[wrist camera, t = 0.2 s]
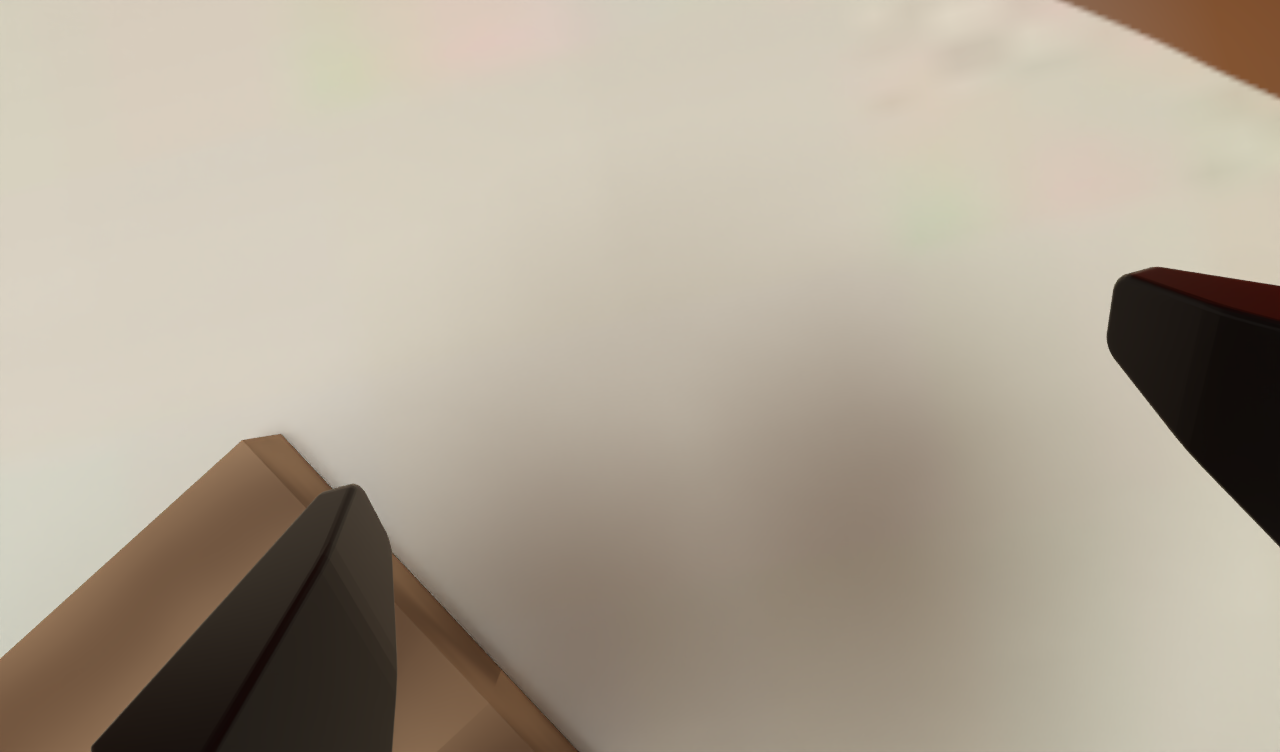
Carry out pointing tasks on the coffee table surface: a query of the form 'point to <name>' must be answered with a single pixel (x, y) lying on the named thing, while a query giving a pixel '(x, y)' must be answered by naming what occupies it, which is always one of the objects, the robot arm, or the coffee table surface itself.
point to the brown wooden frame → (192, 589)
